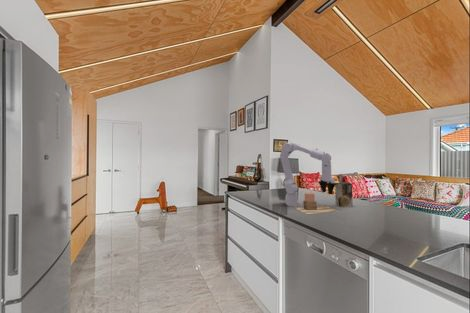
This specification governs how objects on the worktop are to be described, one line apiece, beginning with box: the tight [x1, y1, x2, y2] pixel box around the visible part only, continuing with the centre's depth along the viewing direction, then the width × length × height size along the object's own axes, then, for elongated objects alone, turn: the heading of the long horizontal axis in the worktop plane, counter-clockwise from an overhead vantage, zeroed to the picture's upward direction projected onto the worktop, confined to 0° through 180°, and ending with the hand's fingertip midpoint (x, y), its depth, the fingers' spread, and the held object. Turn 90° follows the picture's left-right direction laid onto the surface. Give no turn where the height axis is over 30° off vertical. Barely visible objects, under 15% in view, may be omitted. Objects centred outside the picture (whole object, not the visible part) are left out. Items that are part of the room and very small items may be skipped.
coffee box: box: [334, 182, 353, 208], centre depth 162 cm, size 9×6×16 cm
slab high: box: [302, 199, 317, 206], centre depth 156 cm, size 6×6×2 cm
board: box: [293, 205, 340, 215], centre depth 155 cm, size 18×22×1 cm
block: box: [304, 192, 316, 202], centre depth 156 cm, size 4×4×5 cm
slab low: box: [303, 204, 318, 210], centre depth 156 cm, size 6×6×2 cm
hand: (327, 193), depth 158 cm, fingers open, 7 cm apart
